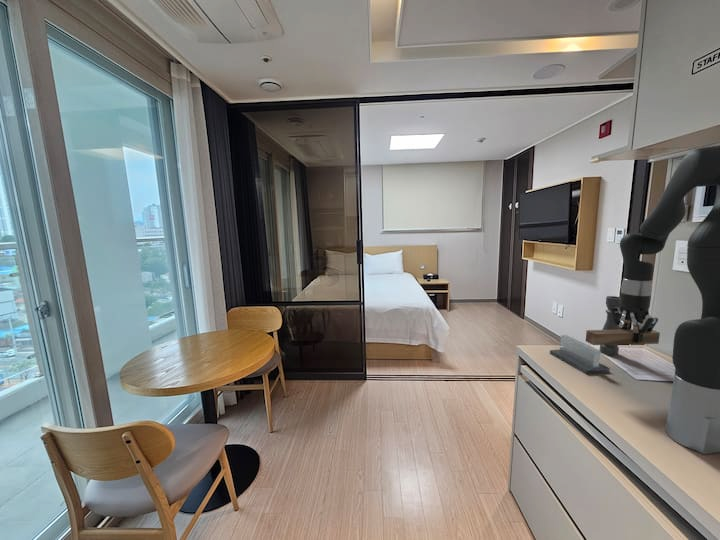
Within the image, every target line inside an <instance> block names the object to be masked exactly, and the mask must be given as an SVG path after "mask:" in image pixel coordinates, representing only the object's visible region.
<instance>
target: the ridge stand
mask: <svg viewBox="0 0 720 540" xmlns="http://www.w3.org/2000/svg"><path fill="white" fill-rule="evenodd" d="M559 345H560V346H563V347H560V346H559V349H550V350H549V354H550V355H551V356H553V357H555V358H557V359H559V360H560V359H561V360H560V361H562V362H564V363H566V364H567V365H569V366H571V367H573V368H574V369H576V370H577V371H579V372H581V371H582V372H581V373H583V374H585V375H589V374H592V375H593V374H602V373H610V370H611V368H610V367H608V366H607V365H604V364H603V363H600V359H601V352H600V349H598V348H595V347H593V346H591V345H590V344H586V342H583V341H580V340H578V339H576V338H573V337H572V336H569V335H567V334H566V335H565V334H563V335H562V334H561V335H560V344H559Z"/></svg>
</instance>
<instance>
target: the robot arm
mask: <svg viewBox="0 0 720 540" xmlns="http://www.w3.org/2000/svg"><path fill="white" fill-rule="evenodd" d="M710 186H716V193H715V194H716V195H715V199H714V203H713V206H712V208H711V209H710V212H709V213H708V214H707V215H706V216H705V218H704V219H703V220H702V221H701V222H700V223H699V224H698V225H697V227H696V228H695V229H694V231H693V232H692V233H691V234H690V236H689V238H688V240H687V247H686V248H687V251H686V266H687V270H688V272H689V274H690V276H691V278H692V280H693V281H694V283H695V285H696V287H697V289H698V290H699V293H700V295H701V300H702V301H701V302H702V306H701V309H702V310H701V316H700V318H699V319H698V318H697V319H690V320H686V321H683V322H681V323H680V324H679V325H678V326H677V327H676V330H675V333H674V337H673V347H672V364H673V366H674V368H675V369H674V376H673V383H672V387H671V393H670V394H671V395H670V402H669V407H668V411H667V412H668V414H667V420H666V425H665V433H666V435H667V436H668V437H669V438H670V439H671V440H673V441H674V442H676V443H678V444H679V445H681V446H683V447H686V448H688V449H691V450H694V451H696V452H698V453H700V454H702V455H710V454H715V453H720V145H714V146H705V147H699V148H695V149H693V150H691V151H689V152H688V153H687V154H686V155H685V156H684V157H683V158H682V159H681V160H680V162H679V164H678V165H677V167H676V168H675V170H674V172H673V174H672V176H671V177H670V180H669V181H668V183H667V185H666V187H665V189H664V191H663V193H662V195H661V197H660V199H659V201H658V203H657V204H656V206H655V207H654V208H653V209H652V211H651V212H650V213H649V215H647V217H646V218H645V219H644V220H643V222H642V223H641V224H640V227H639V231H640V232H639V233H636V232H635V233H634V232H633V233H626V234H625V235H624V236H622V237H621V239H620V241H619V249H620V252H621V256H622V261H623V266H624V267H623V277H622V282H621V288H620V296H619V297H620V304H621V306H620V307H619V308H611V311H612V315H613V320H614V323H615V324H616V325H619V328H620V330H623V329H630V328H629V326H630V324H632V326H633V328H634V329H635V333H634V339H633V343H636V344H635V345H639V344H638V343H641V342H642V339H643V334H644V333H651V331H652V330H654V328H655V326H656V324H657V323H658V321H659V318H657V317H653V316H652V315H650V313H649V308H650V306H651V299H652V291H653V276H654V275H653V273H654V264H653V263H651V262H648V261H643V260H640V259H639V258H638V255H655V254H659V253H660V252H661V251H663V250H664V248H665V246H666V243H667V240H668V238H669V236H670V234H671V233H672V232H673V231H674V230H675V229H676V228H677V227H678V226H679V225H680V223H681V222H682V221H683V220H684V218H685V216H686V212H687V211H686V205H685V198H686V195H688V194H689V193H690V192H691V191H692V190H694V188H697V187H710ZM621 313H622V314H621ZM618 320H619V321H618Z"/></svg>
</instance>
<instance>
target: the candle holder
mask: <svg viewBox="0 0 720 540" xmlns="http://www.w3.org/2000/svg"><path fill="white" fill-rule="evenodd" d="M605 298H606V299H605V304H606V305H605V306H606V308H607V309H605V313H606V320H605V322H604V325H603V326H602V329H601V330H620V327H619V325H616V324H615V323H614V320H613V315H612V311H611V308H619V307H620V306H621V304H620V296H615V295H614V296H613V295H607V296H606V297H605ZM621 314H622V313H621ZM618 321H619V320H618ZM619 348H620V347H619V345H599V350H600V354H602V353H603V355H605V356H609V357H617V356H619V351H620V350H619Z"/></svg>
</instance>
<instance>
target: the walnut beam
mask: <svg viewBox="0 0 720 540" xmlns="http://www.w3.org/2000/svg"><path fill="white" fill-rule="evenodd" d="M585 332H586V333H585V343H588V344H589V345H590V344H591V345H593V346H600V345H618V346H619V345H654V344H655V345H658V344H659V343H660V342H659V341H660V334H661V332H660V331H657V330H654V329H652V331H651V333H644V334H643V339H642V342H641V343H638V344H636V343H633V339H634V333H635V329H633V328H632V329H630V328H629V329H623V330H602V329H587V330H586V331H585Z"/></svg>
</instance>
